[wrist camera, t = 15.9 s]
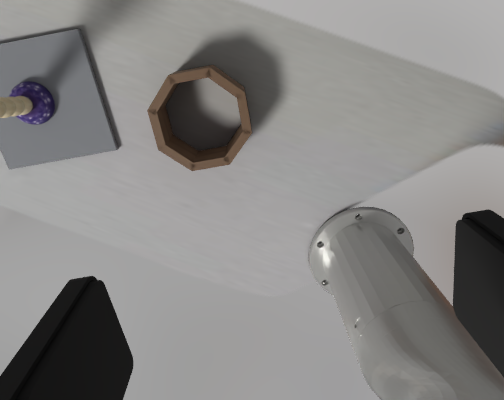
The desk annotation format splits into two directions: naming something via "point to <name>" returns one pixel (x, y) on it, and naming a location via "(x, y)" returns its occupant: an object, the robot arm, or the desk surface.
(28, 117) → the toy lamp
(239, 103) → the holder ring
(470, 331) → the robot arm
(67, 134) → the mat
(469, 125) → the desk surface
